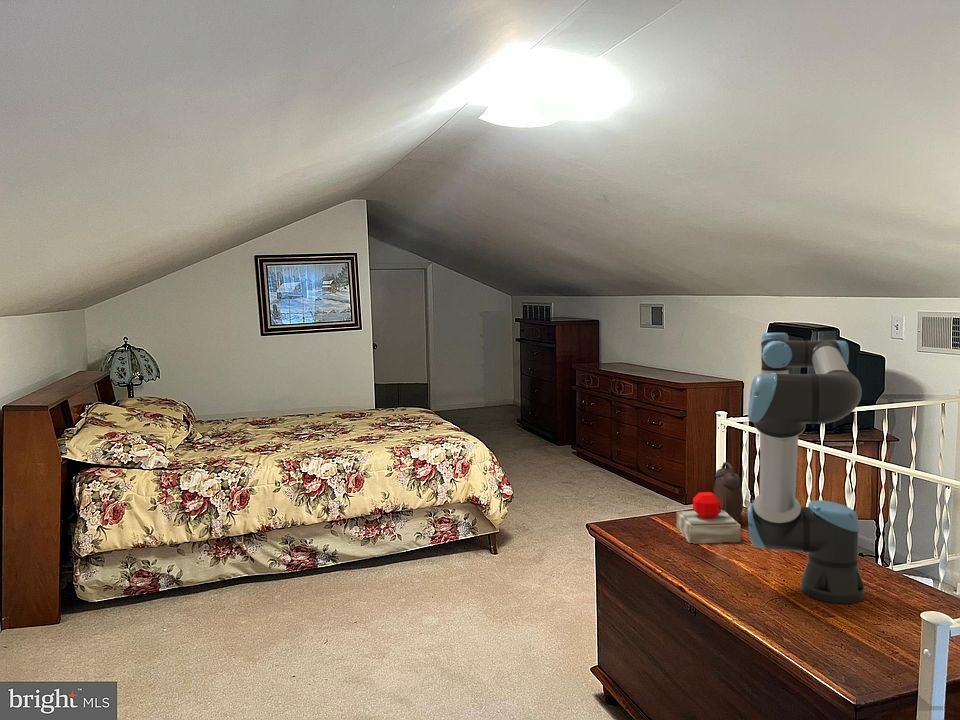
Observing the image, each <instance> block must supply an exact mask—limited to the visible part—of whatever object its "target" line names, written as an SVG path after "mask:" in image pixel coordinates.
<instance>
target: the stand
mask: <svg viewBox="0 0 960 720" xmlns="http://www.w3.org/2000/svg"><path fill="white" fill-rule="evenodd" d="M675 513H676V529H677V530H678V531H679V533H682V534H681V535H682V536H683V537H684V539H686V541H687V542H688V543H689V544H690V543H693V544H718V543H719V544H723V543H722V542H729V543H741V535H742V534H741V532H742V531H741V527H742V526H741V524H740V523H739V521H738V522H737V521H736V519H735V518H732V517H731V516H730V515H729V514H727V513H726V512H725V511H724V510H721V512H720V513H719V514H718V515H717V516H716V517H715V518H709V519H703V518H701V517H700V516H699V515H698V514H697V513H696V512H695V511H694V510H680V511H676V512H675Z"/></svg>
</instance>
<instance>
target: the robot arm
mask: <svg viewBox="0 0 960 720" xmlns="http://www.w3.org/2000/svg"><path fill="white" fill-rule="evenodd" d="M760 341H761V342H760V347H761V352H760V356H761V357H760V359H761V370H760V374H757V375H755V376H754V378H753V379H752V382H751V386H750V393H749V400H748V409H747V419H748V421H749V422H751V423H753V424H754V427H755V429H756V430H757V431H758V432H759V451H760V452H759V453H760V455H759V457H760V458H759V494H758V495H757V496H755V498H754V500H753V502H751V503H749V504H747V522H748V524H747V525H748V531H749V539H750V542H751V544H752V545H753V546H754V547H755V548H758V549H759V548H760V549H766V550H776V551H789V552H790V551H792V552H803V553H804V552H805V553H808V555H807V556H808V560H807V563H806V566H805V568H804V571H803V574H802V577H801V580H800V589H801V591H802V592H803V593H804V594H805V595H806V596H808V597H810V598H813V599H816V600H819V601H822V602H827V603H831V604H833V603H834V604H854V603H859V602H861V601H862V600H864V599H865V596H866V594H865V593H866V592H865V591H866V588H865V587H866V586H865V585H864V581H863V579H862V576H861V572H860V569H859V564H858V563H859V562H858V560H859V559H858V557H859V555H858V554H859V551H858V548H859V531H860V528H859V527H860V526H859V519H858V517H859V516H858V514H857V512H856V511H855V510H854V509H852V508H850V507H848V506H847V505H844V504H841V503H838V502H834V501H828V500H820V499H818V500H811V501H809V503H808V505H807V506H801V503H800V501H799V500H798V498H796V489H797V488H796V487H797V486H796V485H797V469H798V467H797V464H798V450H799V449H798V447H799V435H801V434H803V432H804V431H805V429H806V425H810V424H811V425H813V424H815V425H817V424H820V425H821V424H823V425H824V424H830V423H833V422H838V421H840V420H842V419H844V418H845V417H846V416H848V415H849V414H851V413H852V412H853V411H854V410H855V409H856V408H857V406H858V405H859V404H860V401H861V399H862V394H863V393H862V391H863V390H862V386H861V384H860V381H859V379H858V378H857V376H856V375H855V374H853V373H851V372H850V370H849V368H848V364H849V359H850V358H849V356H850V351H849V344H848V343H847V341H846V340H836V339H831V340H789V335H788V333H787V332H763V333H762V335H761V340H760ZM789 368H813V369H814V372H815V373H789Z"/></svg>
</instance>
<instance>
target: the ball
mask: <svg viewBox="0 0 960 720" xmlns="http://www.w3.org/2000/svg"><path fill="white" fill-rule="evenodd" d="M692 511H695V512H696V513H697V514H698V515H699V516H700V517H701V518H703V519H709V518H715V517H716V516H717V515H718V514H719V513H720V512H721V501H720V500H719V499H718V498H717V497H716V496H715V495H714V493H713V492H712V491H705V492H704V491H703V492H700V491H699V492H698V493H697V494H696V495H694V497H693V498H692Z"/></svg>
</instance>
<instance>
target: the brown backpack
mask: <svg viewBox="0 0 960 720" xmlns="http://www.w3.org/2000/svg"><path fill="white" fill-rule="evenodd" d="M722 463H723V464H722V465H721V468H719V469H717V470H716V472H715V475H714V477H715V481H714V486H713V494H714V495H715V496H716V497H717V498H718V499H719V500H720V501H721V510H724V511H725V512H726V513H727V514H729V515H730V516H731V517H732V518H733V519H735V521H736V522H738V523H739V517H741V515H742V512H743V508H744V496H743V495H744V494H743V489H742V486H741V477H740V476H739V475H738V473H735V472H734V469H733V466H732V464H731V463H729V462H725V461H724V462H722ZM727 467H728V468H727Z"/></svg>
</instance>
